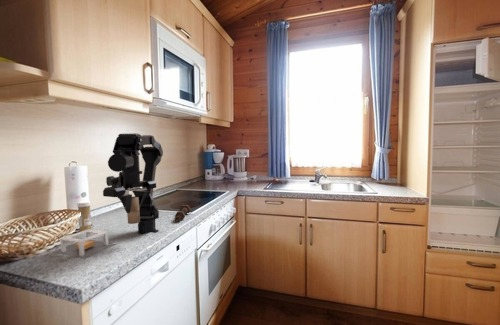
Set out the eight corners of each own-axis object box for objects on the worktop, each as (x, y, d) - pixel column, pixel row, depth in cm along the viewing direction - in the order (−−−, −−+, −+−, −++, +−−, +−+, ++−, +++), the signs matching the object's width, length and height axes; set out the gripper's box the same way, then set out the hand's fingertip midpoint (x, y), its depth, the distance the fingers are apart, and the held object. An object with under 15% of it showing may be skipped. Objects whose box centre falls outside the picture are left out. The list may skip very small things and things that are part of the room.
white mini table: (86, 241, 96) (85, 227, 96) (117, 246, 91) (116, 232, 90) (52, 254, 85) (51, 238, 85) (85, 261, 79) (84, 244, 79)
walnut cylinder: (134, 219, 93) (133, 196, 92) (142, 221, 92) (141, 196, 91) (125, 223, 89) (123, 198, 89) (133, 224, 88) (132, 199, 87)
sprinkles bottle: (91, 233, 105) (88, 202, 104) (78, 235, 103) (75, 203, 102) (92, 230, 109) (91, 199, 108) (80, 231, 107) (78, 201, 106)
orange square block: (87, 243, 90) (86, 239, 90) (94, 245, 89) (94, 241, 89) (75, 248, 87) (75, 244, 86) (84, 249, 85) (83, 245, 85)
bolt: (176, 226, 118) (184, 216, 133) (185, 221, 118) (192, 211, 133) (169, 216, 118) (178, 207, 132) (178, 211, 117) (186, 202, 132)
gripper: (134, 165, 101) (136, 203, 102) (90, 170, 83) (93, 216, 85) (156, 166, 96) (158, 205, 98) (114, 171, 79) (116, 219, 80)
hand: (133, 211), depth 90 cm, fingers closed on walnut cylinder, 4 cm apart
